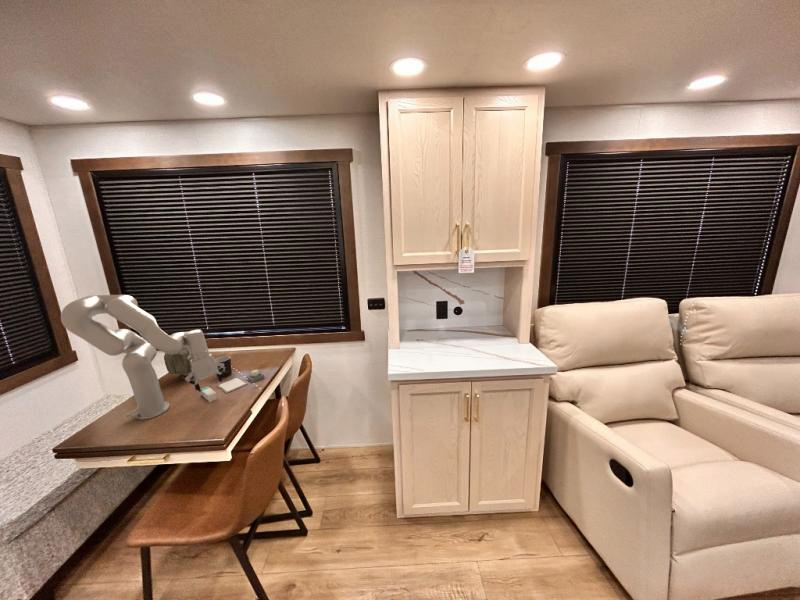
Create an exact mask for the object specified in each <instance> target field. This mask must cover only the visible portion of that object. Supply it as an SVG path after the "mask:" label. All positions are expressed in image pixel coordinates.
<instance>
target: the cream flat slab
mask: <svg viewBox="0 0 800 600" xmlns="http://www.w3.org/2000/svg"><path fill="white" fill-rule="evenodd" d="M248 385H249V383H248V382H246V381H244V380H243V379H242V378H240V377H235V378H232V379H230V380H227V381H225V382H223V383H222V382H221V383H220V384H218V385H216V387H217V388H219V389H220V390H221V391H222V392H224V393H225V394H227V395H228V394H229V393H232V392H233V391H237V390H238V389H241V388H242V387H245V386H248Z"/></svg>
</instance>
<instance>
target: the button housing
mask: <svg viewBox="0 0 800 600" xmlns="http://www.w3.org/2000/svg"><path fill="white" fill-rule="evenodd" d="M246 379H247V381H249V382H250V383H256V382H259V381H260V380H263V379H265V374H264V373H262V372H260V371H259V376H257V377H255V378H252V377H251V374H249V375H246Z"/></svg>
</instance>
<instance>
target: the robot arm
mask: <svg viewBox="0 0 800 600" xmlns="http://www.w3.org/2000/svg"><path fill="white" fill-rule="evenodd" d="M138 305H139V304H138V301H137V299H136V298H134V297H133V296H131V295H128V294H103V295H101V294H97V295H96V294H95V295H94V294H93V295H87V296H84V297H81V298H78V299H75V300H73V301H71V302H69V303H67V304H66V305H65V306H64V307H63V309H62V311H61V313H60V321H61V324H62V325H63V327H64V328H65V329H66V330H67V331H68V332H70V333H72V334H73V335H75V336H77V337H78V338H80V339H82V340H84V341H85V342H87V343H89V344H90V345H91V346H93V347H94V348H96V349H97V350H100V351H101V352H103V353H104V354H106V355H108V356H113V357H115V356H116V357H117V356H119V355H122V354H123V353H125V356H123V358H122V361H121V365H122V369H123V370H124V372H125V374H126V376H127V378H128V381H129V383H130V387H131V389H132V392H133V396H134V399H135V402H136V404H137V406H136V408H135V409H133V410H131V411H129V412H125V416H126V418H133V417H136V419H137V420H140V421H141V420H149V419H153V418H155V417H158V416H160V415H162V414H164V413H166V411H168V410H169V409H170V407H171V405H170V402H168V401H165V398H164V395H163V392H162V389H161V386H160V385H161V384H160V382H159V379H158V375H157V373H156V370H155V369H154V367H153V365H152V362H153V361H154V359H155V358H156V357H157V352H158V351H157V350H159V351H161V352H162V353H164V354H165V353H166V354H171V355H173V354H177V353H179V352H180V351H181V350H182V349H183V347H185V346H188V349H189V353H190V356H189V357H187V358H188V359H192V360H191V369H192V372H190V373H188V375H187V376H186V377H185V379H184V380H185V381H186V382H188V383H189V384H191V385H194V387H195V388H194V389H195V391H198V392H200V393H201V389H202V388H201V387H200V384H199V381H201V380H203V379H206V378H208V377H209V378H210V377H211V376H214V375H215V374H216V378H217V381H218V382H219V383H222V382H223V381H222V380H223V378H222V376H221V374H222V371H223V368H224V364H223V363H216V362H215V359H216V358H215V357H214V356H213V354H212V353H210V350H209V348H208V347H209V346H208V345H207V341H206V338H205V335H204V332H203V330H202V329H193V330H192V329H191V330H190V331H181V332H174V333H172V334H170V335H169V334H168V333H166V332H165V331H164V330H162V329H161V328H160V326H159V325H158V323H157V320H156V318H155V317H154V315H152V314H150V313H149V312H147V311H145V310H143V309H142V308H140V307H139V306H138ZM101 314H108V315H109V316H110V317H112V318H114V319H115V320H117V321H119V322H121V323H123V324H124V325H126V326H128V327H129V328H131V329H133V331H132V330H130V329H127V328H119V329H115V330H113V329H111V328H109V327H108V326H106V325H105V324H103V323H102V322H100V321H97V320H95V319H93V317H95V316H96V315H101ZM134 330H135V331H136V332H137V333H139V334H137V333H136V332H134ZM217 366H220V369H219V370H218V367H217ZM192 377H193V380H192Z"/></svg>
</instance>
